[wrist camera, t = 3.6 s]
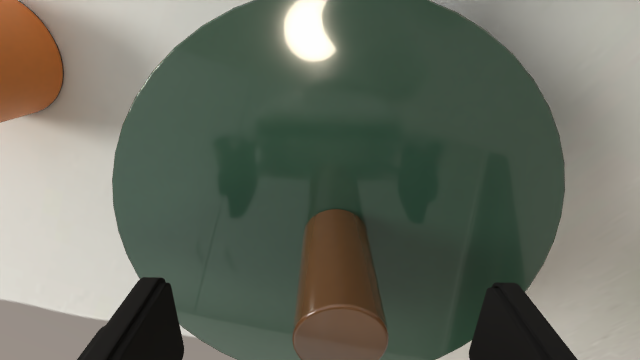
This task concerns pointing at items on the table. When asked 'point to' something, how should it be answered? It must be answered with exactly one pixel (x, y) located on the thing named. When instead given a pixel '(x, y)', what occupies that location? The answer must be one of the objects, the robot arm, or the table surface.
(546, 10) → the table surface
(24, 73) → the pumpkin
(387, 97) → the crock lid
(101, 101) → the table surface
